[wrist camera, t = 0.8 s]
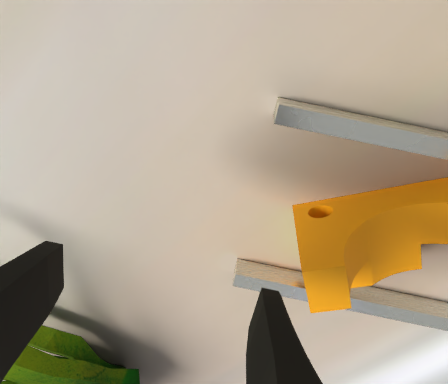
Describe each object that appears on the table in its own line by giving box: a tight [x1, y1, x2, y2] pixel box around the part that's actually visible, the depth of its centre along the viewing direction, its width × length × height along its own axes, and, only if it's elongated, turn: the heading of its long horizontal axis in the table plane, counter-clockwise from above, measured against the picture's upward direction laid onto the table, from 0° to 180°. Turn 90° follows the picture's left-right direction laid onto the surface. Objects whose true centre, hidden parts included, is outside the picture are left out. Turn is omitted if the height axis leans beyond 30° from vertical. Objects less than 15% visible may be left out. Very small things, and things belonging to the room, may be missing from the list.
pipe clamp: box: [292, 177, 448, 313], centre depth 19 cm, size 12×4×6 cm, turn 105°
